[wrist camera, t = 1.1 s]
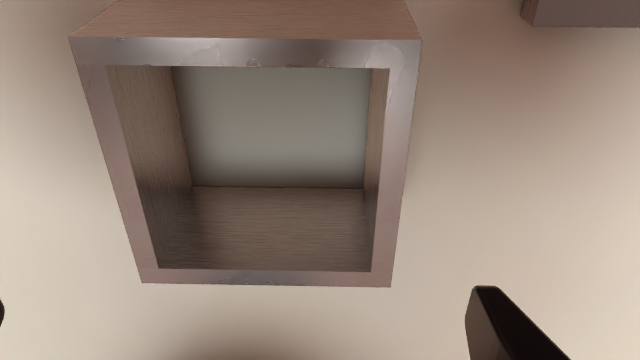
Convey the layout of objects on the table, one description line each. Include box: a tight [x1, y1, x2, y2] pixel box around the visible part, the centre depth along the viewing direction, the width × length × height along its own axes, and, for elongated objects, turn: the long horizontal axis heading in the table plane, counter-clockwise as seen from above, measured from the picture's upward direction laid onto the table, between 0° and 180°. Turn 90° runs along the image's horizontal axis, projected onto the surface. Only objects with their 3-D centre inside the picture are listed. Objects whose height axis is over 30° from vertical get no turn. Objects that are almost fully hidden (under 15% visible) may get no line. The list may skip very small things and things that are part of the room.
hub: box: [68, 0, 422, 287], centre depth 13 cm, size 7×7×4 cm
